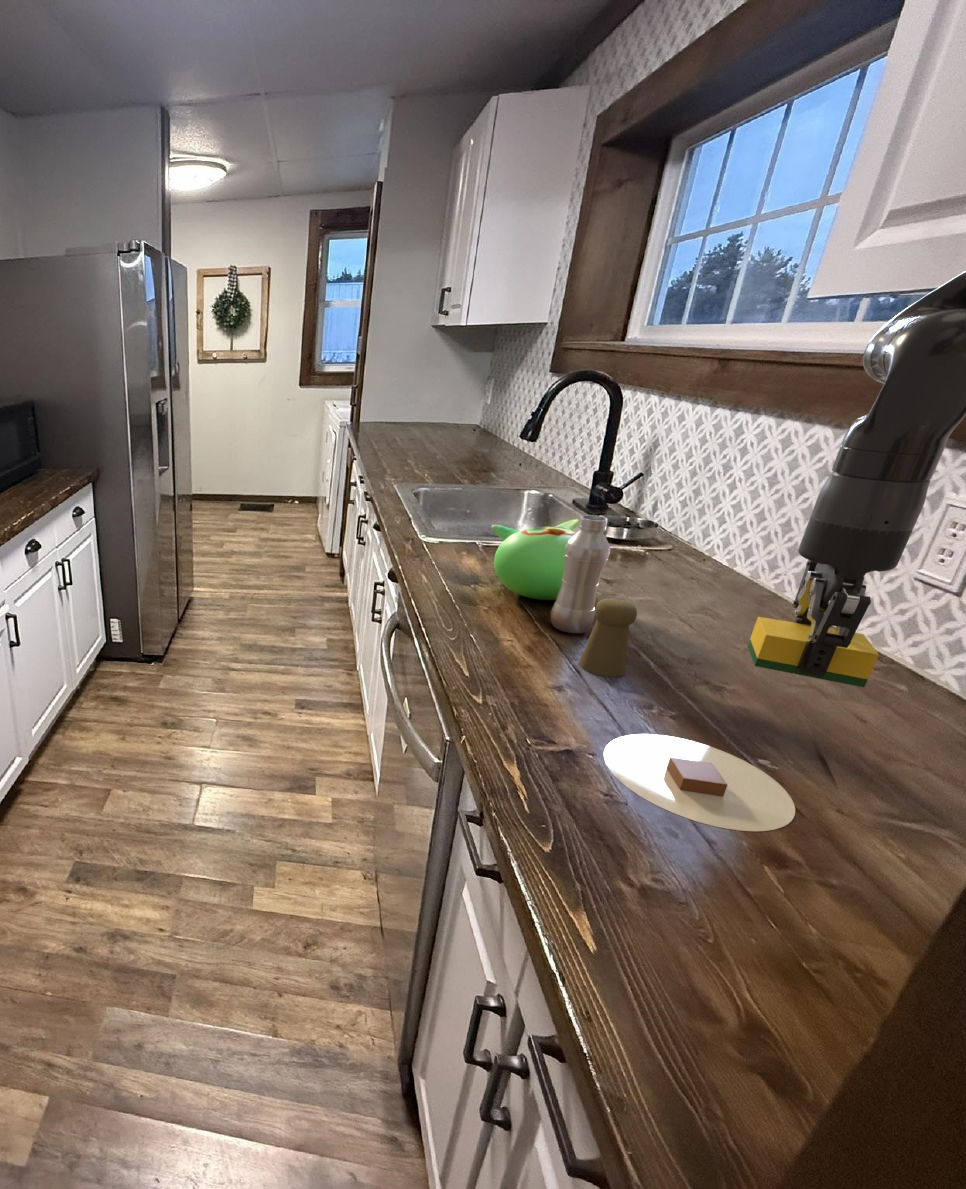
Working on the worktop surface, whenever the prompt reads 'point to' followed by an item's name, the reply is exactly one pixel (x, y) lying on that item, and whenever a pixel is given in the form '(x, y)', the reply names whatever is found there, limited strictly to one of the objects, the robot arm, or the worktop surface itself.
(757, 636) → the sponge
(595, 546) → the plastic bottle
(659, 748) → the plate
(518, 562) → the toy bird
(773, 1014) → the worktop surface
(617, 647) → the cork
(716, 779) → the brown wooden tile
